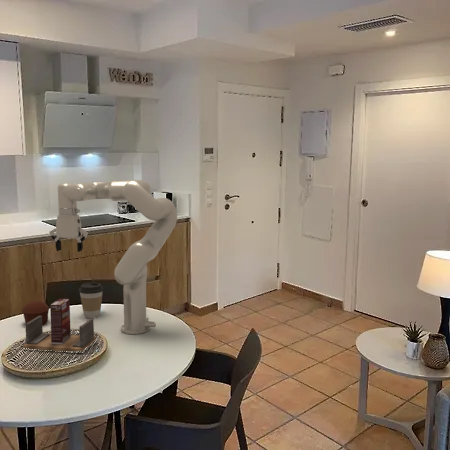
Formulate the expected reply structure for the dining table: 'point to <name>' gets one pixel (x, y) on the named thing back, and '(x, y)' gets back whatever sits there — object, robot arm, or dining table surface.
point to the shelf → (43, 340)
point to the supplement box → (60, 321)
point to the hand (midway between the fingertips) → (69, 250)
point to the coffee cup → (91, 299)
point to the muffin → (36, 311)
